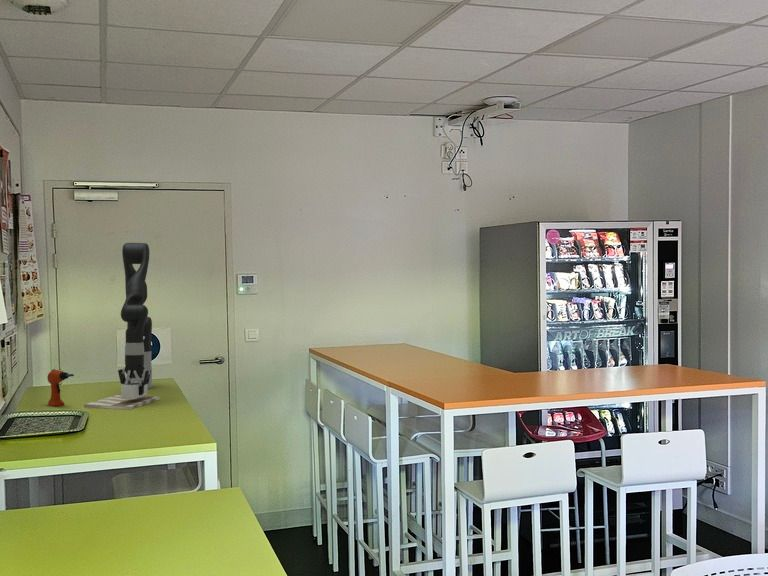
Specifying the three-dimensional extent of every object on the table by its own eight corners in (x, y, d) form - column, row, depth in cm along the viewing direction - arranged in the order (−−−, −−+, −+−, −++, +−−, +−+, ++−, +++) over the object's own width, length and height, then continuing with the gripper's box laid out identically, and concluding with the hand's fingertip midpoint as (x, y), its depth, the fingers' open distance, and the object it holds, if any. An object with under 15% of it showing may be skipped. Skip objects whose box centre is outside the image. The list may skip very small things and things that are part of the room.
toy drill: (69, 406, 303) (66, 368, 304) (45, 407, 315) (43, 370, 315) (81, 404, 306) (78, 367, 307) (57, 405, 318) (54, 369, 319)
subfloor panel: (116, 397, 333) (116, 394, 333) (159, 399, 329) (159, 396, 329) (84, 407, 309) (84, 404, 309) (129, 409, 305) (129, 406, 305)
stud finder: (136, 394, 324) (136, 380, 324) (147, 395, 323) (147, 381, 323) (121, 399, 312) (121, 385, 312) (132, 399, 311) (132, 385, 311)
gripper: (155, 353, 320) (155, 394, 320) (123, 352, 323) (123, 392, 323) (145, 354, 312) (145, 396, 313) (113, 353, 315) (113, 395, 316)
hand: (134, 394), depth 318 cm, fingers closed on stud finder, 5 cm apart
